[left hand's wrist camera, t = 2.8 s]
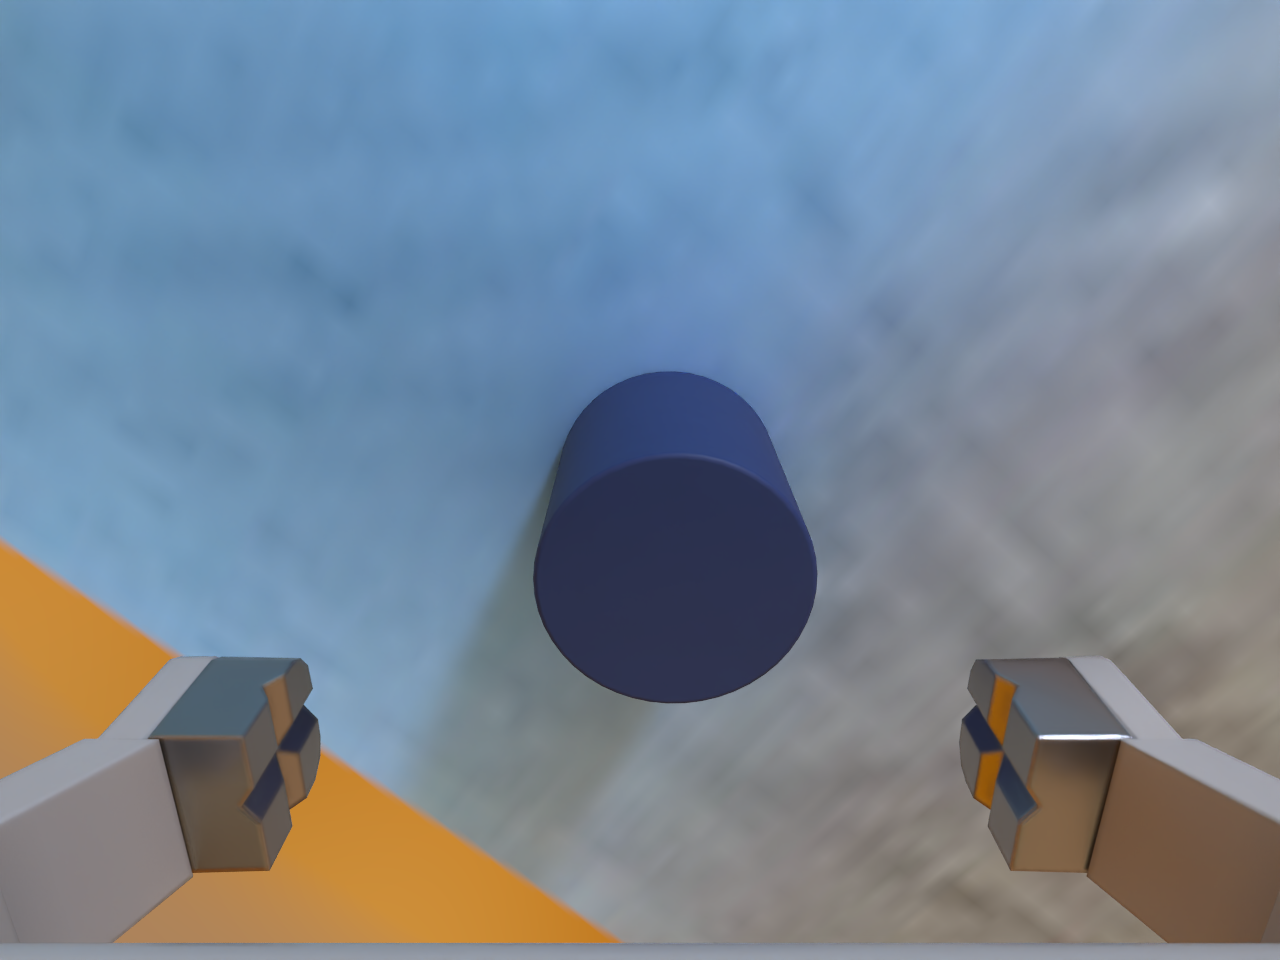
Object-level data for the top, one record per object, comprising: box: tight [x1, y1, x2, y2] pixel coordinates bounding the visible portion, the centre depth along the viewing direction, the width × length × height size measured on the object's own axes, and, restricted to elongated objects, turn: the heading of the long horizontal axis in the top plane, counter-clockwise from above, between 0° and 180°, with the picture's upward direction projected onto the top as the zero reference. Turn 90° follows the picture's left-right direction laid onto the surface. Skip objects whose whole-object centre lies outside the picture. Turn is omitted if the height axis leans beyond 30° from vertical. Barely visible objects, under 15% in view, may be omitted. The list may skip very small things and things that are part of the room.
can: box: [533, 372, 817, 703], centre depth 15 cm, size 4×4×5 cm
